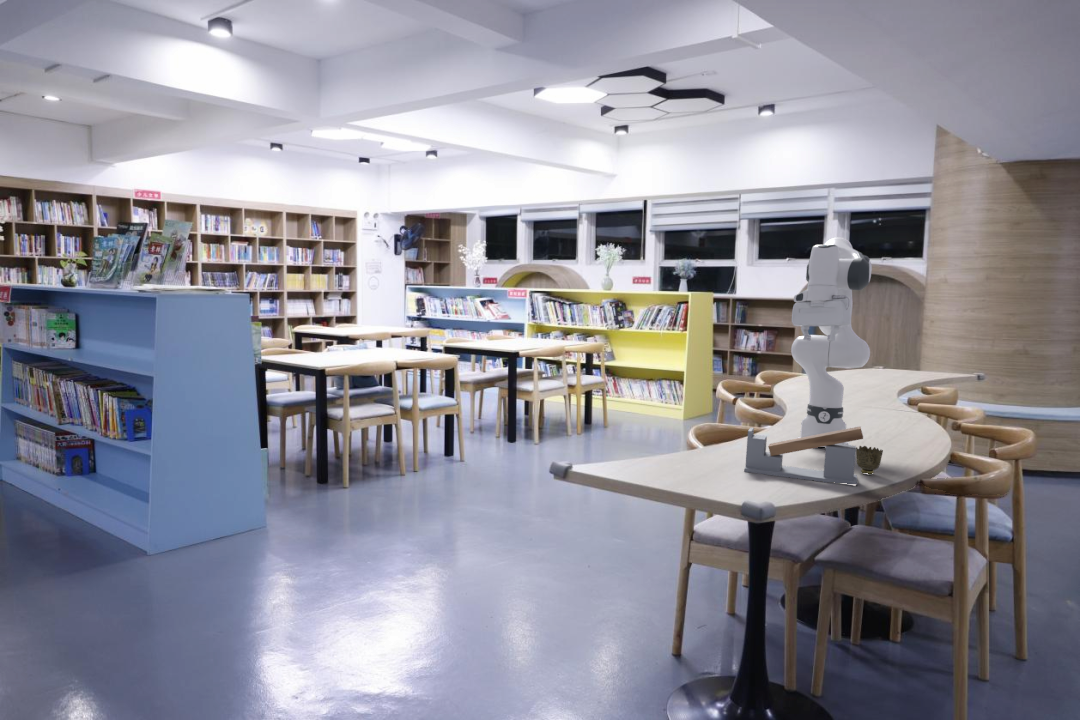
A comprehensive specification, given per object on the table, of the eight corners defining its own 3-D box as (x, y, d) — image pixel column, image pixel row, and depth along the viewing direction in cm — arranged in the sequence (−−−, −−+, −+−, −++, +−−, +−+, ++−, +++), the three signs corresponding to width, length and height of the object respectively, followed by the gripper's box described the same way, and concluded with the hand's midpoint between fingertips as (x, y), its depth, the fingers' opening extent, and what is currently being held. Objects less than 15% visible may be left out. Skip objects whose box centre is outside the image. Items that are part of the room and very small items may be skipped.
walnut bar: (768, 453, 224) (771, 417, 223) (860, 464, 214) (863, 426, 213) (767, 455, 220) (770, 419, 219) (860, 467, 211) (864, 429, 209)
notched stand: (748, 464, 230) (751, 426, 228) (856, 478, 218) (860, 438, 217) (744, 471, 220) (747, 432, 219) (856, 486, 209) (860, 444, 207)
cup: (872, 478, 218) (874, 452, 217) (848, 473, 224) (851, 447, 223) (885, 475, 222) (887, 449, 222) (862, 470, 228) (864, 444, 227)
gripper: (857, 295, 220) (853, 341, 220) (804, 298, 238) (801, 341, 238) (842, 293, 217) (838, 340, 217) (789, 296, 235) (786, 339, 235)
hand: (818, 340), depth 228 cm, fingers open, 8 cm apart
